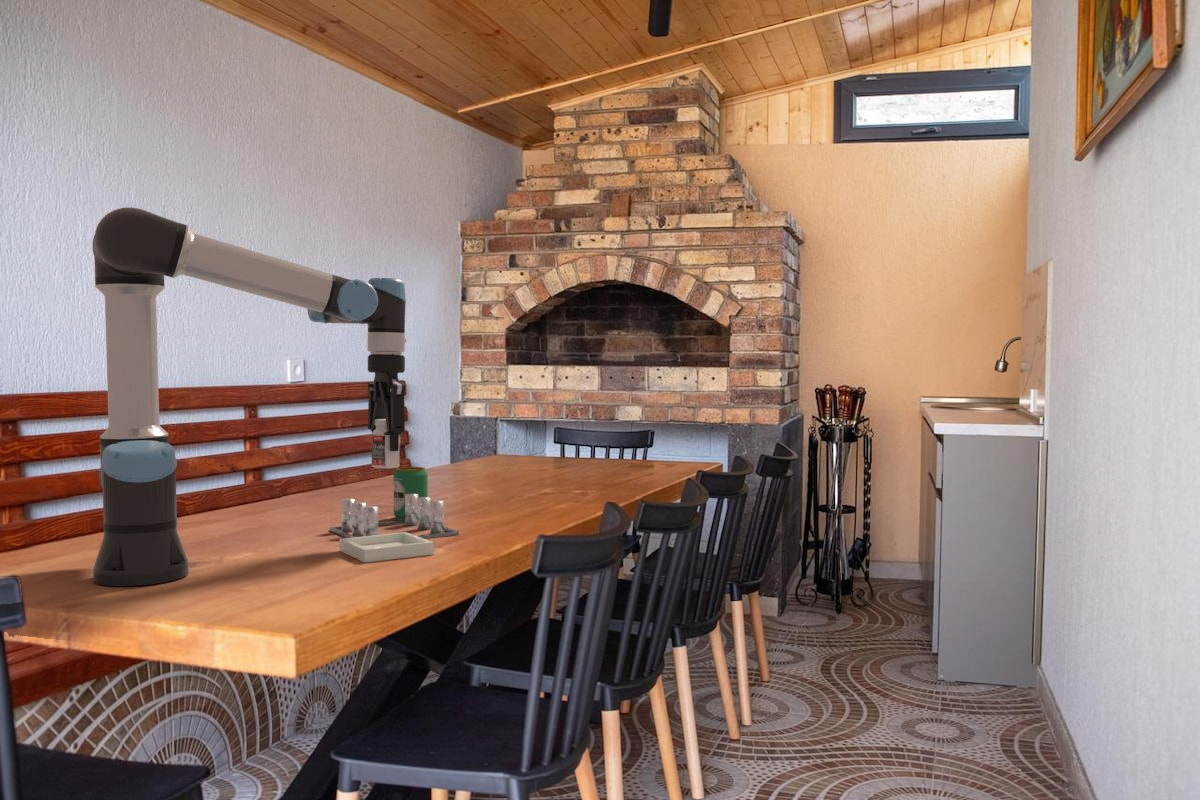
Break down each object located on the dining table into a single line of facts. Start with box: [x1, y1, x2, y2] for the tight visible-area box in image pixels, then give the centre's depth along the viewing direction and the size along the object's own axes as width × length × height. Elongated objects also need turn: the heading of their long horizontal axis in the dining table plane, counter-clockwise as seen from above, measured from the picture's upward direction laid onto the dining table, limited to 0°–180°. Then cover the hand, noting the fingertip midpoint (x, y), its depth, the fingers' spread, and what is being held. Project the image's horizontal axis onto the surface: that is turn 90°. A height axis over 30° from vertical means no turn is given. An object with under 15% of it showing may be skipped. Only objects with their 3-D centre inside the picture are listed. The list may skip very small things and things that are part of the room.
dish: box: [339, 531, 435, 563], centre depth 198 cm, size 14×14×2 cm
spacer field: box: [329, 494, 460, 539], centre depth 222 cm, size 22×22×7 cm
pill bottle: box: [371, 419, 401, 469], centre depth 209 cm, size 6×6×10 cm
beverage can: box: [393, 466, 429, 521], centre depth 242 cm, size 8×8×12 cm
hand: (385, 465), depth 209 cm, fingers closed on pill bottle, 6 cm apart
